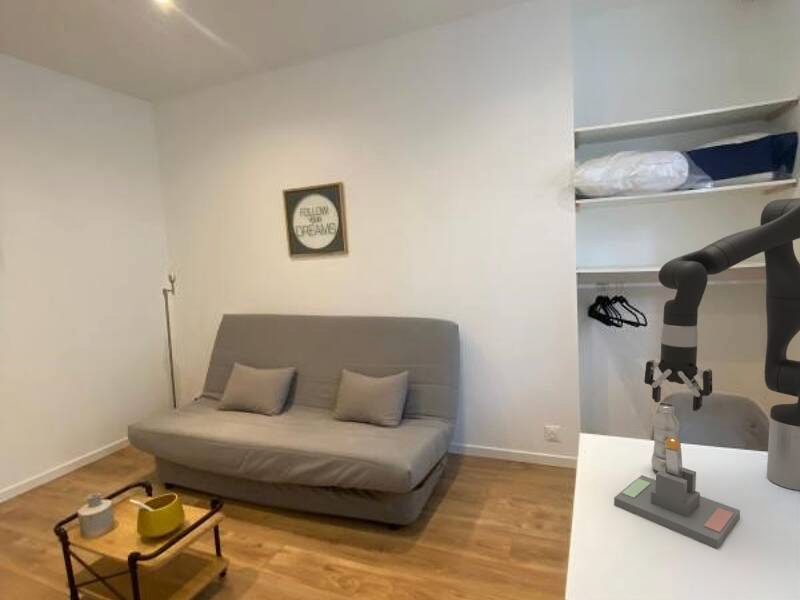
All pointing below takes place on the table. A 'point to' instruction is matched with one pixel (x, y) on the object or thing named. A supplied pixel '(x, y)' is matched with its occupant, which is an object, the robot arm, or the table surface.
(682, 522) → the switch box
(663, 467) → the plastic bottle
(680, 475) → the lever
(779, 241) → the robot arm
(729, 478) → the table surface
